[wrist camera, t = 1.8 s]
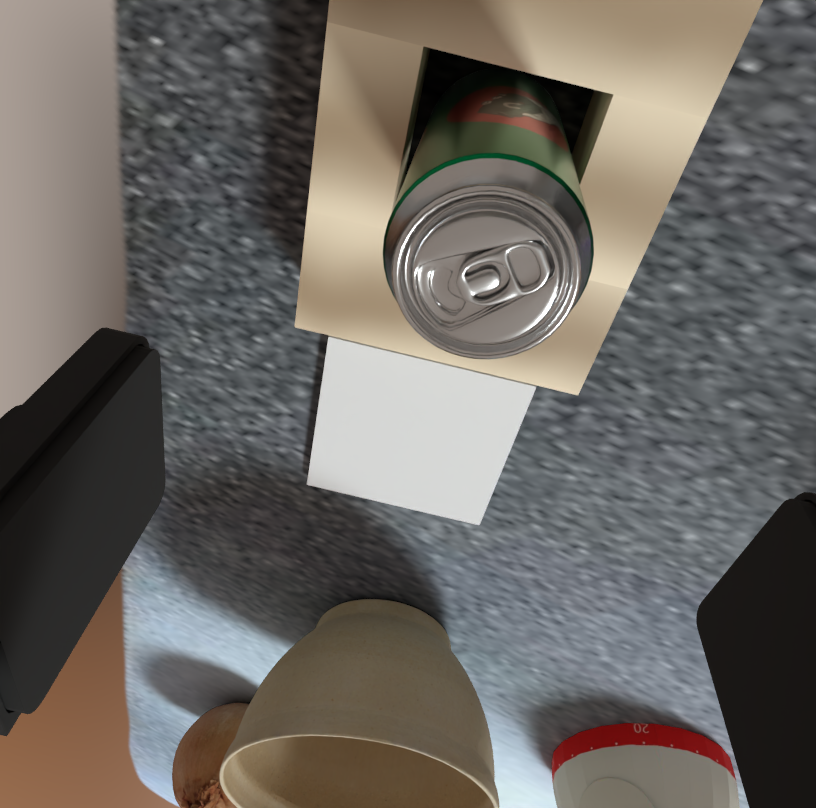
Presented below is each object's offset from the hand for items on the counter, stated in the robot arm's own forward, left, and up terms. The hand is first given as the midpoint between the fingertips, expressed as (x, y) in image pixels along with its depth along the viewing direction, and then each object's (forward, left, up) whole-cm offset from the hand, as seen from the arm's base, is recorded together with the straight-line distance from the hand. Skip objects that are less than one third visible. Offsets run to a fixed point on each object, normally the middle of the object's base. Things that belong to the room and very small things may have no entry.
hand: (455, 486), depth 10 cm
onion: (+50, -7, -19) cm, 53 cm away
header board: (0, 0, -18) cm, 18 cm away
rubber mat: (+15, 0, -18) cm, 24 cm away
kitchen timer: (+44, +25, -19) cm, 54 cm away
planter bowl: (+34, +2, -19) cm, 38 cm away
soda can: (0, 0, -19) cm, 19 cm away
